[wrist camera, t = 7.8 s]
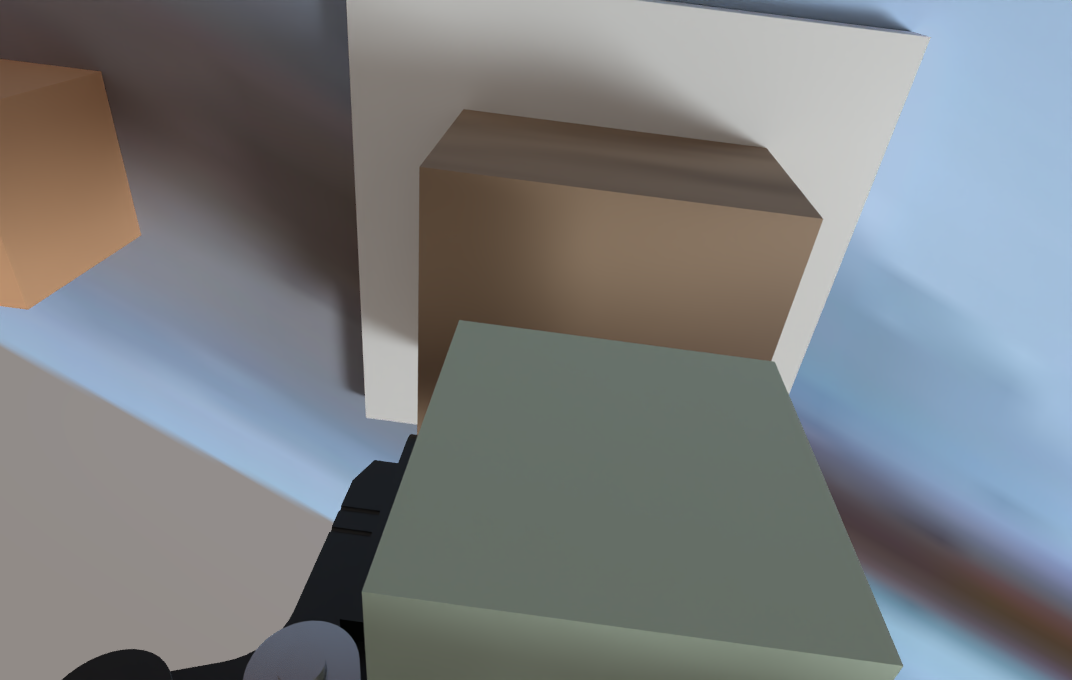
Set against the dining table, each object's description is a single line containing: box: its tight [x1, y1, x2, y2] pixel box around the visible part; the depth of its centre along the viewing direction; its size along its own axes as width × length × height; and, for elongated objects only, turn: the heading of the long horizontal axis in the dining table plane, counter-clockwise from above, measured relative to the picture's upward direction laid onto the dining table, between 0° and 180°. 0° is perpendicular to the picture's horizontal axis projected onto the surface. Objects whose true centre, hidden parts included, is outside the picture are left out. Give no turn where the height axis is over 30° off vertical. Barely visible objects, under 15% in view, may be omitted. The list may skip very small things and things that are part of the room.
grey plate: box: [346, 0, 931, 424], centre depth 19 cm, size 14×14×1 cm
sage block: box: [362, 320, 903, 680], centre depth 10 cm, size 6×5×5 cm
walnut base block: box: [417, 109, 823, 435], centre depth 17 cm, size 8×8×5 cm
